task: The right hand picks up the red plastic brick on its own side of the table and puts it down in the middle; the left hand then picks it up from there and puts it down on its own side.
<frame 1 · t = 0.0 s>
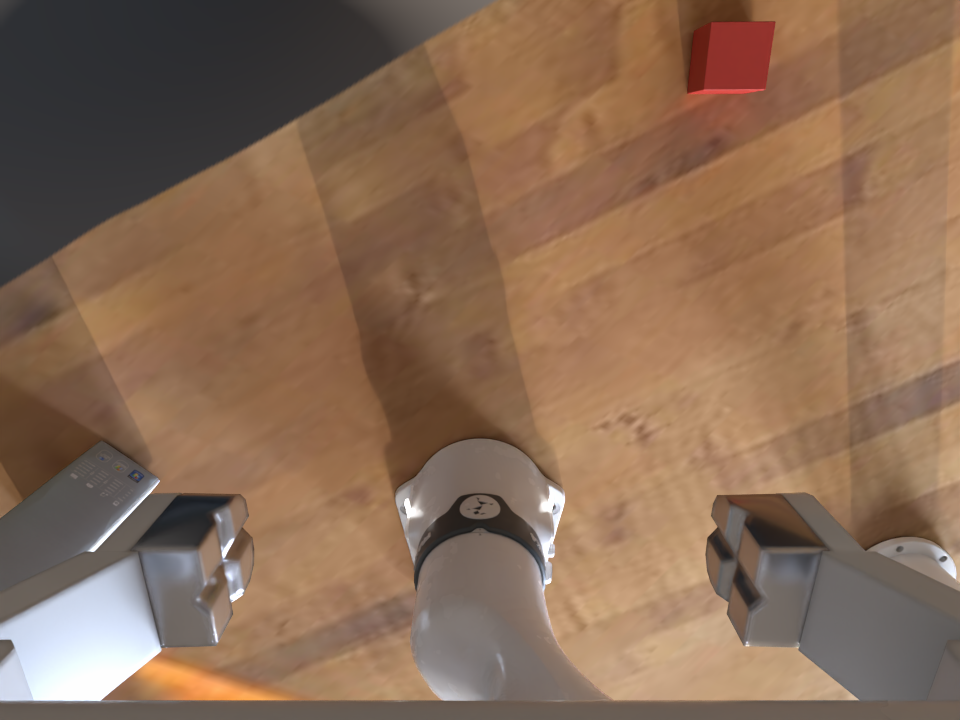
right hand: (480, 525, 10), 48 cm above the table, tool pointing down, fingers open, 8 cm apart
hard drive box: (98, 501, 66), on the table
brick: (719, 62, 51), on the table
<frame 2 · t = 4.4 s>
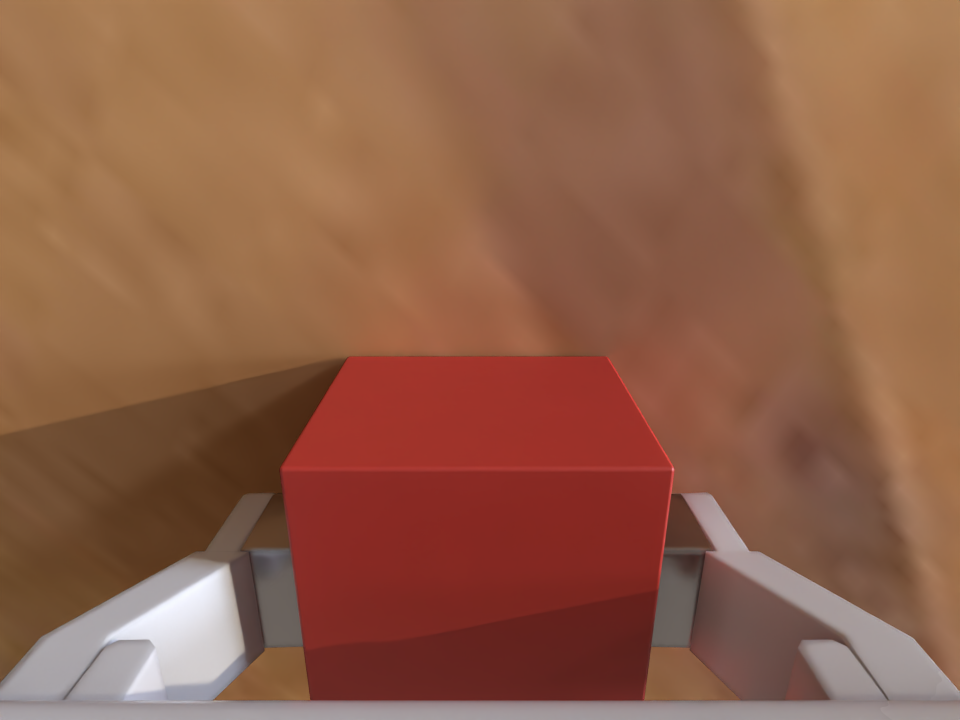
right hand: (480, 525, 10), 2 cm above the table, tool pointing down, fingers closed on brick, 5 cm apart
brick: (477, 473, 12), on the table, touching right hand
when the right hand's fingers open (2 cm above the table, at t = 10.7 s): brick stays where it is, on the table.
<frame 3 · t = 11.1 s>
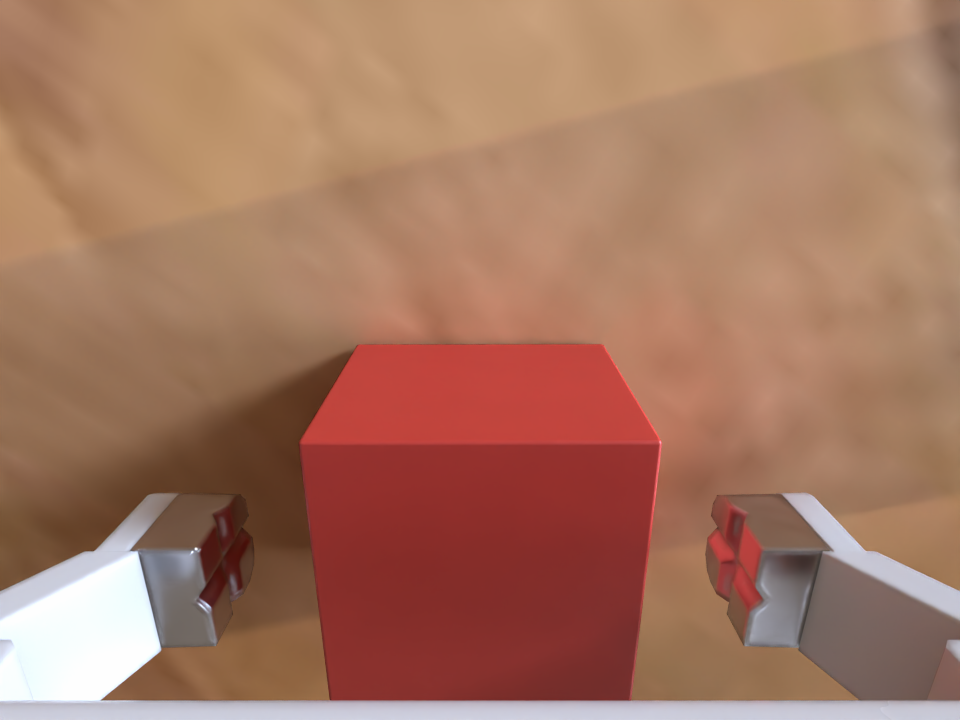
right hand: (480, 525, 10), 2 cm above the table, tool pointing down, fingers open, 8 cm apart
brick: (480, 456, 13), on the table
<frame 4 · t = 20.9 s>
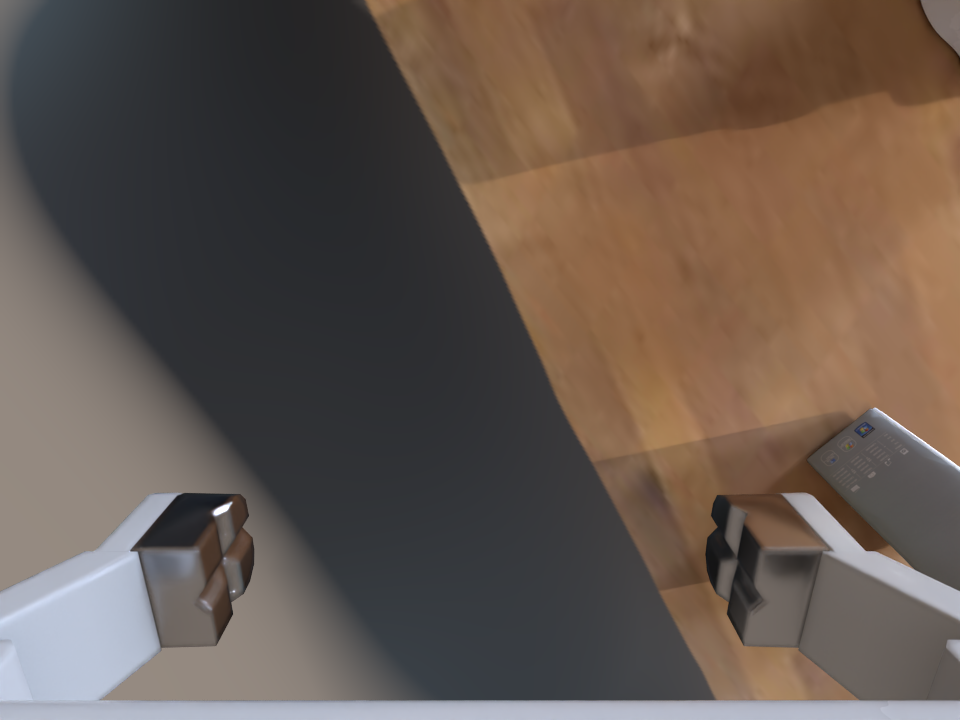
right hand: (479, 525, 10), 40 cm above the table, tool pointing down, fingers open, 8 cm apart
hard drive box: (883, 480, 56), on the table
when the left hand's fingers open (1 cm above the table, at t = 27.6 s): brick stays where it is, on the table.
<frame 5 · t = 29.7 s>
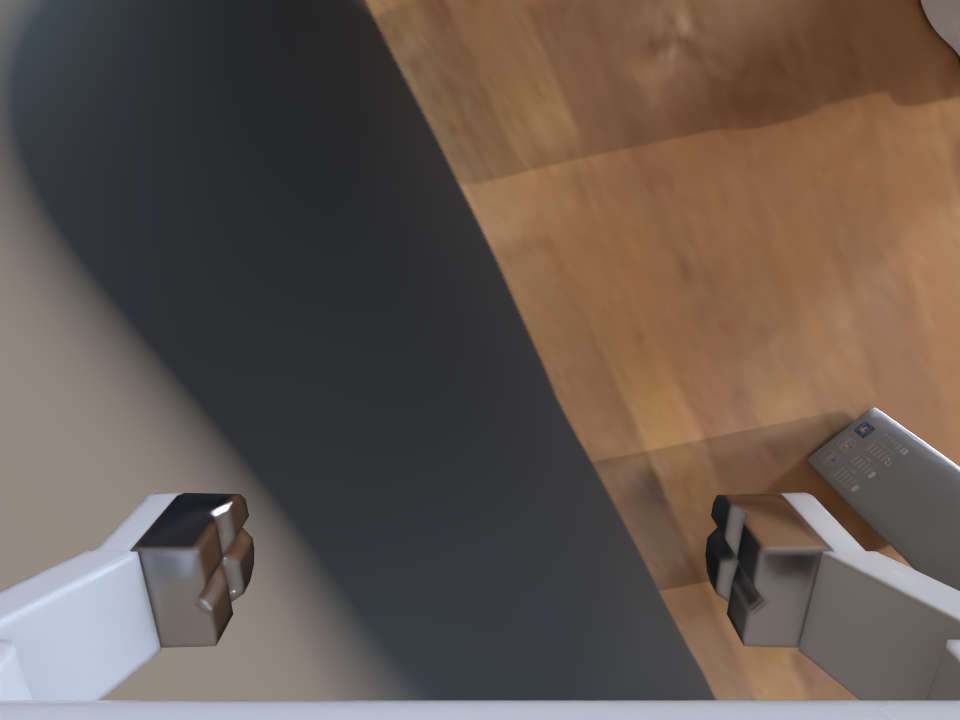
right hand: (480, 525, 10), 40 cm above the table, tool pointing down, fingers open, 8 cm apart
hard drive box: (883, 480, 56), on the table
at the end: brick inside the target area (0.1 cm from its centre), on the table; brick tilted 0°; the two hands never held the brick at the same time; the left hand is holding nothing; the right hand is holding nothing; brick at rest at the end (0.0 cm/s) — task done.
